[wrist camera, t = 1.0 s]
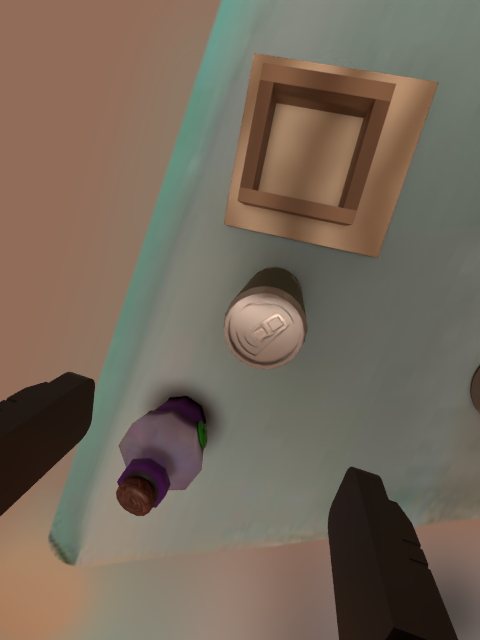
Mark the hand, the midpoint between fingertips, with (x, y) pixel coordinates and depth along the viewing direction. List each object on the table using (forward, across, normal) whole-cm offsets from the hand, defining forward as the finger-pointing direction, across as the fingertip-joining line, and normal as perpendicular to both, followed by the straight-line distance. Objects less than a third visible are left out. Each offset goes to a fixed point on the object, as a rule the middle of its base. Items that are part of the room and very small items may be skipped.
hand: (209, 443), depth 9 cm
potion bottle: (+22, +6, +17) cm, 28 cm away
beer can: (+22, 0, 0) cm, 22 cm away
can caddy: (+22, -1, -13) cm, 25 cm away
